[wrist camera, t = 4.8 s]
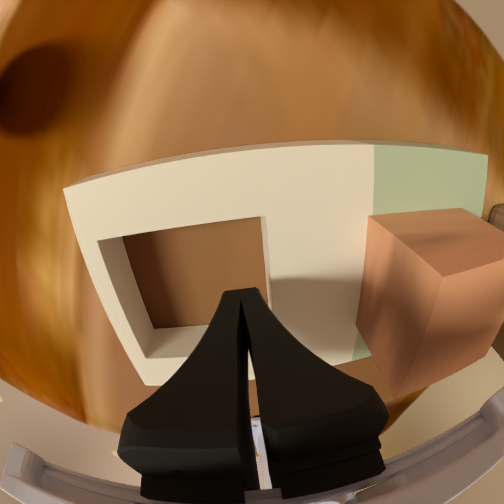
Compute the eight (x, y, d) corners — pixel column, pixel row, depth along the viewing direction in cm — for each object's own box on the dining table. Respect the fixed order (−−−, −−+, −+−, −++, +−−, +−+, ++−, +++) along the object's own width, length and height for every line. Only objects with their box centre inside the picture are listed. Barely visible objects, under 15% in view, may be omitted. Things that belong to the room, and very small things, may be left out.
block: (439, 302, 13) (485, 355, 9) (355, 325, 13) (394, 399, 9) (460, 207, 11) (530, 249, 6) (367, 215, 11) (443, 277, 6)
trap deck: (431, 309, 17) (448, 329, 15) (152, 356, 16) (145, 385, 14) (459, 147, 12) (488, 155, 9) (89, 176, 11) (63, 188, 9)
